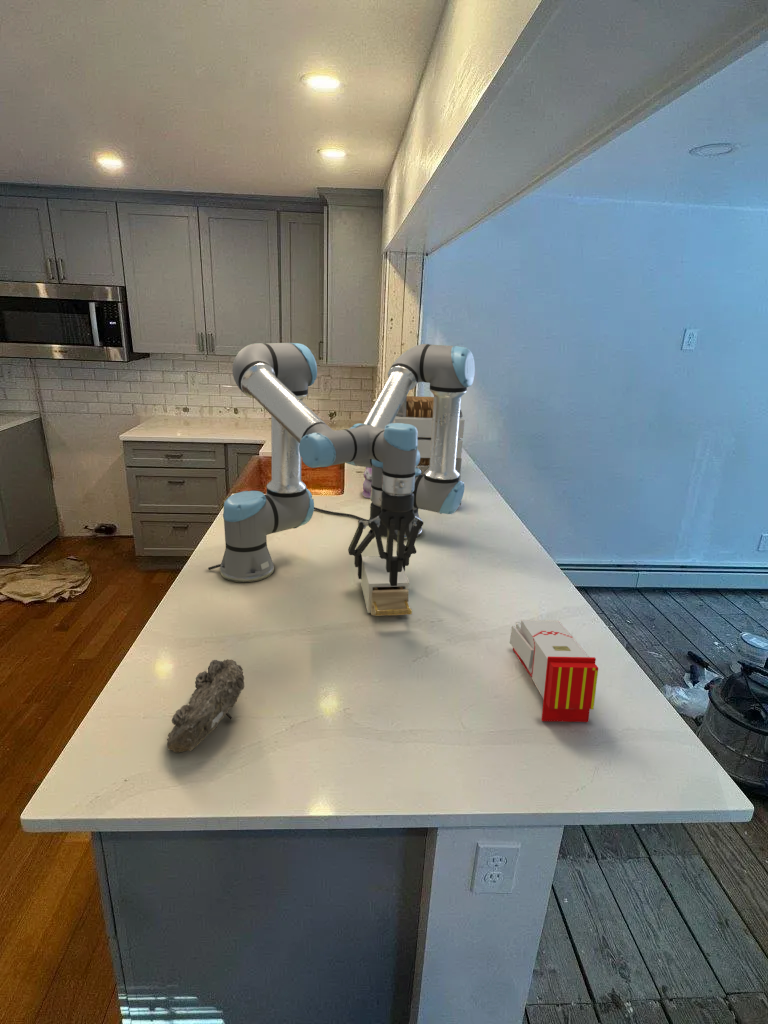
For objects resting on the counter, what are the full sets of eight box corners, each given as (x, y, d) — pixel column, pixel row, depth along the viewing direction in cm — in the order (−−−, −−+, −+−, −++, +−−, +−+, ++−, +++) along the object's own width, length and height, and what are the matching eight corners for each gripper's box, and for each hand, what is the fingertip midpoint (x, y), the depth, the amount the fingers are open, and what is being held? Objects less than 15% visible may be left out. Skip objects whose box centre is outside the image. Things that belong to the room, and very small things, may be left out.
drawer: (411, 626, 140) (413, 602, 138) (374, 627, 139) (375, 603, 137) (397, 586, 160) (398, 565, 158) (364, 587, 159) (365, 566, 156)
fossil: (192, 660, 117) (244, 628, 112) (224, 691, 120) (276, 661, 115) (142, 746, 98) (202, 712, 93) (182, 779, 101) (242, 748, 96)
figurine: (366, 499, 233) (368, 464, 228) (356, 492, 241) (357, 458, 236) (387, 497, 237) (388, 462, 232) (376, 490, 246) (377, 456, 241)
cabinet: (407, 611, 149) (409, 582, 146) (367, 613, 147) (368, 583, 144) (396, 582, 164) (398, 555, 161) (360, 583, 163) (361, 556, 160)
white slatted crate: (382, 463, 289) (386, 382, 275) (445, 464, 293) (451, 384, 279) (390, 482, 257) (394, 392, 243) (460, 483, 261) (468, 394, 247)
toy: (555, 605, 135) (607, 664, 106) (550, 657, 138) (599, 728, 109) (505, 604, 135) (543, 662, 106) (500, 656, 138) (537, 727, 108)
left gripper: (372, 496, 126) (368, 591, 134) (429, 496, 128) (422, 589, 136) (368, 486, 133) (364, 577, 141) (422, 486, 135) (416, 575, 143)
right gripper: (341, 507, 146) (339, 583, 153) (431, 507, 150) (425, 581, 157) (339, 498, 153) (337, 571, 160) (425, 498, 157) (419, 569, 164)
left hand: (393, 583), depth 139 cm, fingers closed
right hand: (381, 576), depth 159 cm, fingers open, 11 cm apart
